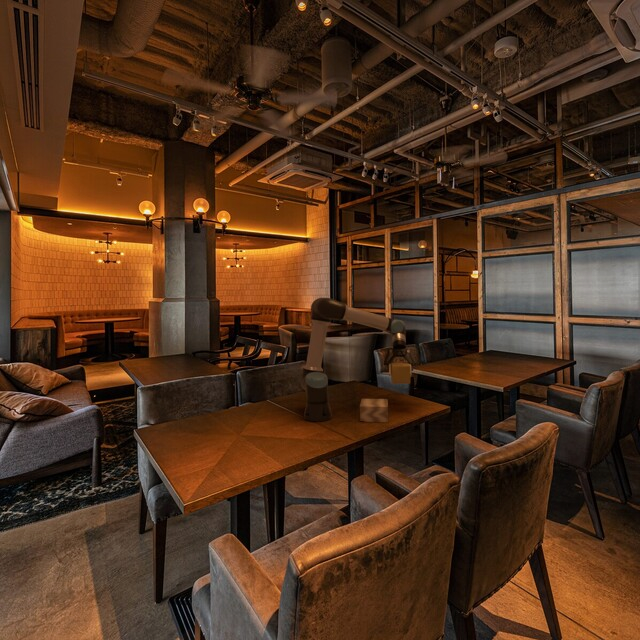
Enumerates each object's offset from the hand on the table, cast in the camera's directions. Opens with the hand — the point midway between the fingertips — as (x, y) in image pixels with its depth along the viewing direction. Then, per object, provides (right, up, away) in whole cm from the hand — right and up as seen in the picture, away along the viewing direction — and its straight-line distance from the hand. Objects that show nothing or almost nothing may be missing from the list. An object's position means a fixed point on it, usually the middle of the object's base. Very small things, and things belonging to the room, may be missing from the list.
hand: (400, 375), depth 204 cm
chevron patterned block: (-15, -21, -7) cm, 27 cm away
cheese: (+1, -4, +2) cm, 5 cm away
